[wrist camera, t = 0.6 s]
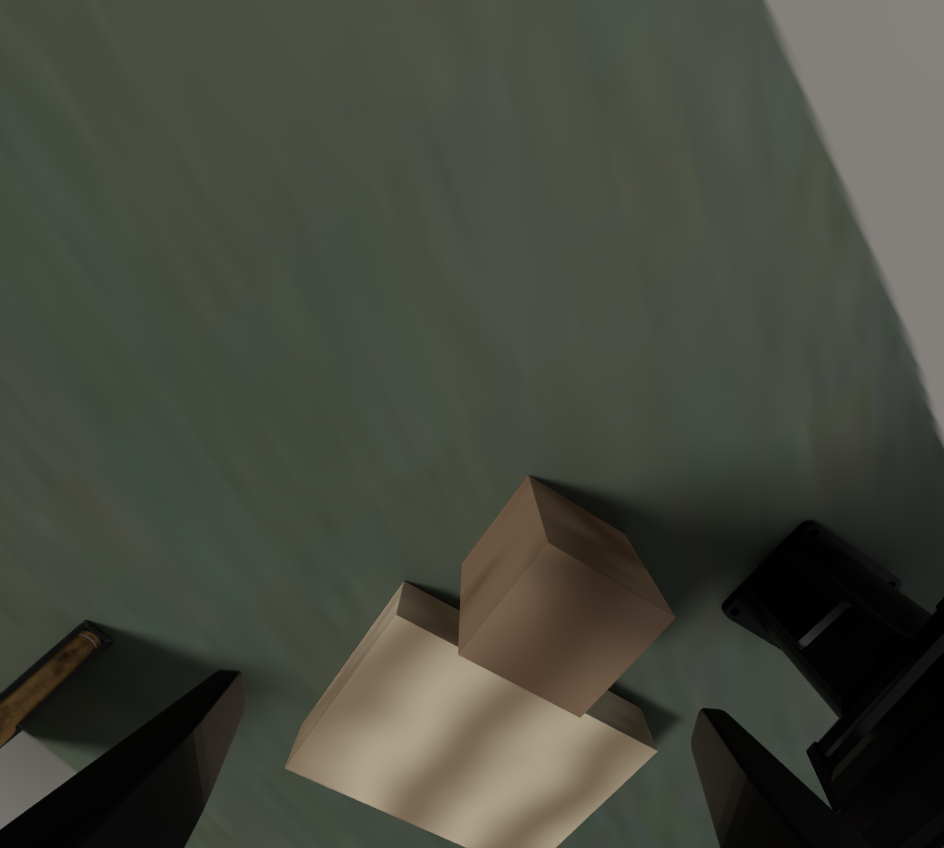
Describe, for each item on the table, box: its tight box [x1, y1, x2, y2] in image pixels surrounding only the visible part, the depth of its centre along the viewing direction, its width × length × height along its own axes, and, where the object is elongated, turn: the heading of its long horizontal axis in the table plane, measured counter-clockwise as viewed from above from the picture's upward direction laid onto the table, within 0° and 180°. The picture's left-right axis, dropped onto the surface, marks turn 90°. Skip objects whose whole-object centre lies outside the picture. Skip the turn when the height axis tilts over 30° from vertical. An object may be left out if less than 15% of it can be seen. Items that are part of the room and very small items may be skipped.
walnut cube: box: [458, 475, 676, 718], centre depth 20 cm, size 6×6×6 cm
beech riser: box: [285, 581, 658, 848], centre depth 25 cm, size 16×12×2 cm
